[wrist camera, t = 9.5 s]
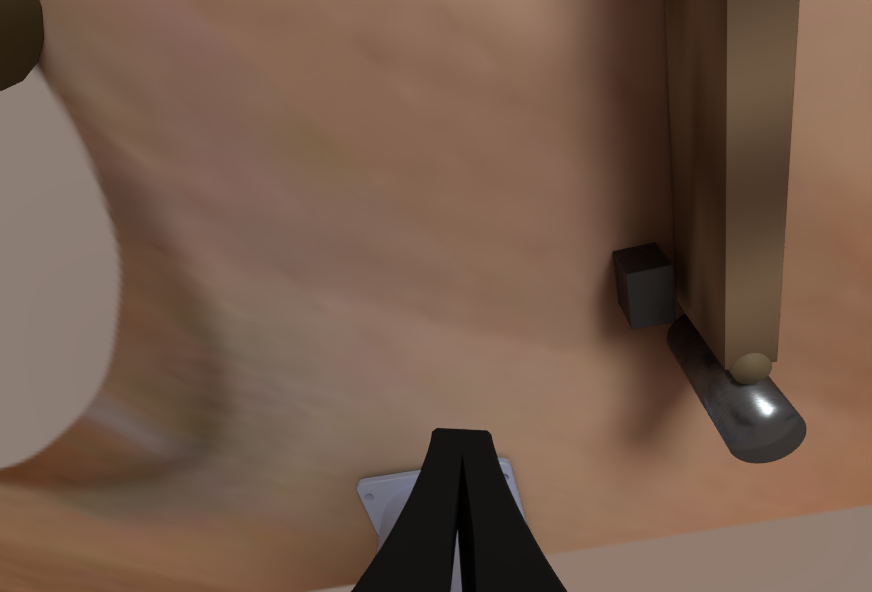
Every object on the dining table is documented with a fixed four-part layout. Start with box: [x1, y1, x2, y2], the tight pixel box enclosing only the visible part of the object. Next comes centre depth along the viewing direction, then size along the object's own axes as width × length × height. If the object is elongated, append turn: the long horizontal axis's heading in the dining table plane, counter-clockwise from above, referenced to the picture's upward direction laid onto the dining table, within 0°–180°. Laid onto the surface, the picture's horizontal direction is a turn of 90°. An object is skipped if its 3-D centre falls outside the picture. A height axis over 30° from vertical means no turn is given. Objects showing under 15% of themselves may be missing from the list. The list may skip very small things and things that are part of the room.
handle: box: [665, 0, 800, 385], centre depth 17 cm, size 13×2×5 cm, turn 14°
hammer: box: [613, 243, 806, 463], centre depth 16 cm, size 22×4×6 cm, turn 15°
